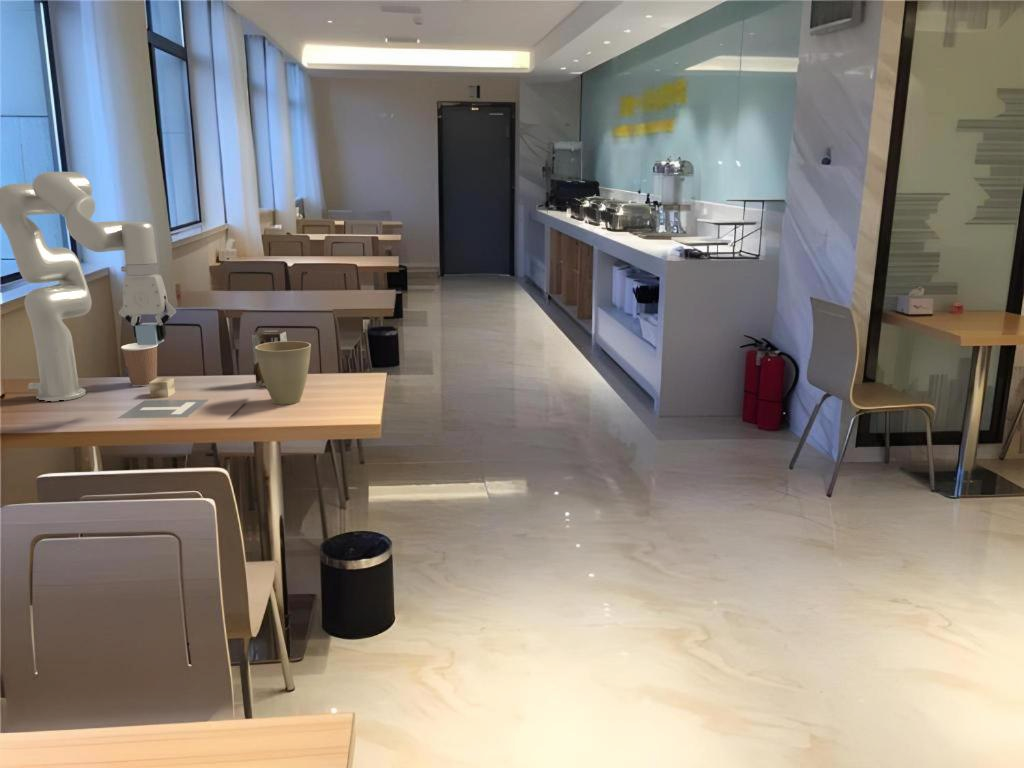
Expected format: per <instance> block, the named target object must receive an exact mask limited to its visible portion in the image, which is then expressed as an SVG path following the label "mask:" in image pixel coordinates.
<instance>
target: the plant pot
mask: <svg viewBox="0 0 1024 768" xmlns="http://www.w3.org/2000/svg"><path fill="white" fill-rule="evenodd" d="M255 349H256V354H257V358H258V363H259V366H260V370H261V373H262V376H263V379H264V382H265V385H266V386H265V387H266V389H267V392H268V394H269V397H270V399H271V400H272V403H273V404H277V405H281V404H282V406H283V405H284V404H286V405H294V404H297V403H299V402H300V401H301V400H302V396H303V393H304V391H305V390H304V389H305V386H306V382H307V378H308V373H309V367H310V361H311V359H310V358H311V350H312V344H311V343H309V342H307V341H299V340H298V341H296V340H295V341H294V340H290V341H289V340H288V341H280V342H270V343H264V344H260V345H257V346H256V347H255ZM293 403H294V404H293Z"/></svg>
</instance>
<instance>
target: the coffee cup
mask: <svg viewBox="0 0 1024 768" xmlns="http://www.w3.org/2000/svg"><path fill="white" fill-rule="evenodd" d="M158 345H159V344H157V345H137V342H134V343H128V344H124V345H122V346H120V349H121V350H122V354H123V359H124V361H125V367H126V372H127V374H128V377H129V381H130V384H131V386H132V387H135V386H144V387H148V386H147V385H149V382H151V381H153V380H154V379H156V378H158Z"/></svg>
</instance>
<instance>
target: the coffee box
mask: <svg viewBox="0 0 1024 768" xmlns="http://www.w3.org/2000/svg"><path fill="white" fill-rule="evenodd" d="M280 341H289V336H288V330H286V329H285V330H279V329H277V330H275V329H273V330H271V329H267V330H265V329H263V330H260V329H259V330H257V331H255V332H254V333H251V343H252V353H253V365H254V372H255V373H254V374H255V385H257V386H256V387H266V385H265V382H264V379H263V376H262V373H261V370H260V366H259V363H258V358H257V354H256V349H255V347H256V346H257V345H260V344H264V343H270V342H280Z"/></svg>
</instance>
